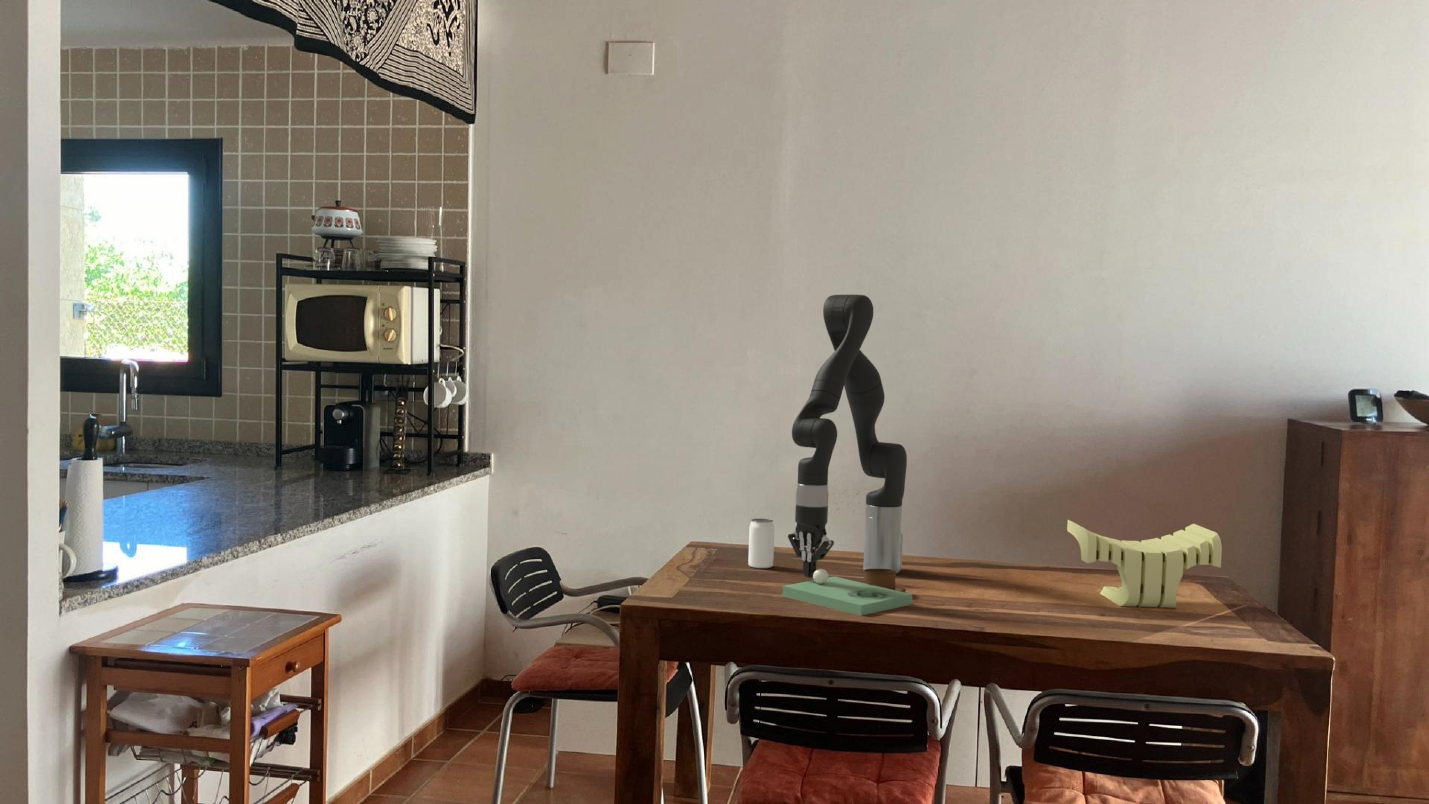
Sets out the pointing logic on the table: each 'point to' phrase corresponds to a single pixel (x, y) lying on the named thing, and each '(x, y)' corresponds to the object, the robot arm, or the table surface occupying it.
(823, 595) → the green
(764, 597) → the table surface
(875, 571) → the brown cylindrical stub
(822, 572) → the ball
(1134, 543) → the slatted curved stool
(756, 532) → the can
